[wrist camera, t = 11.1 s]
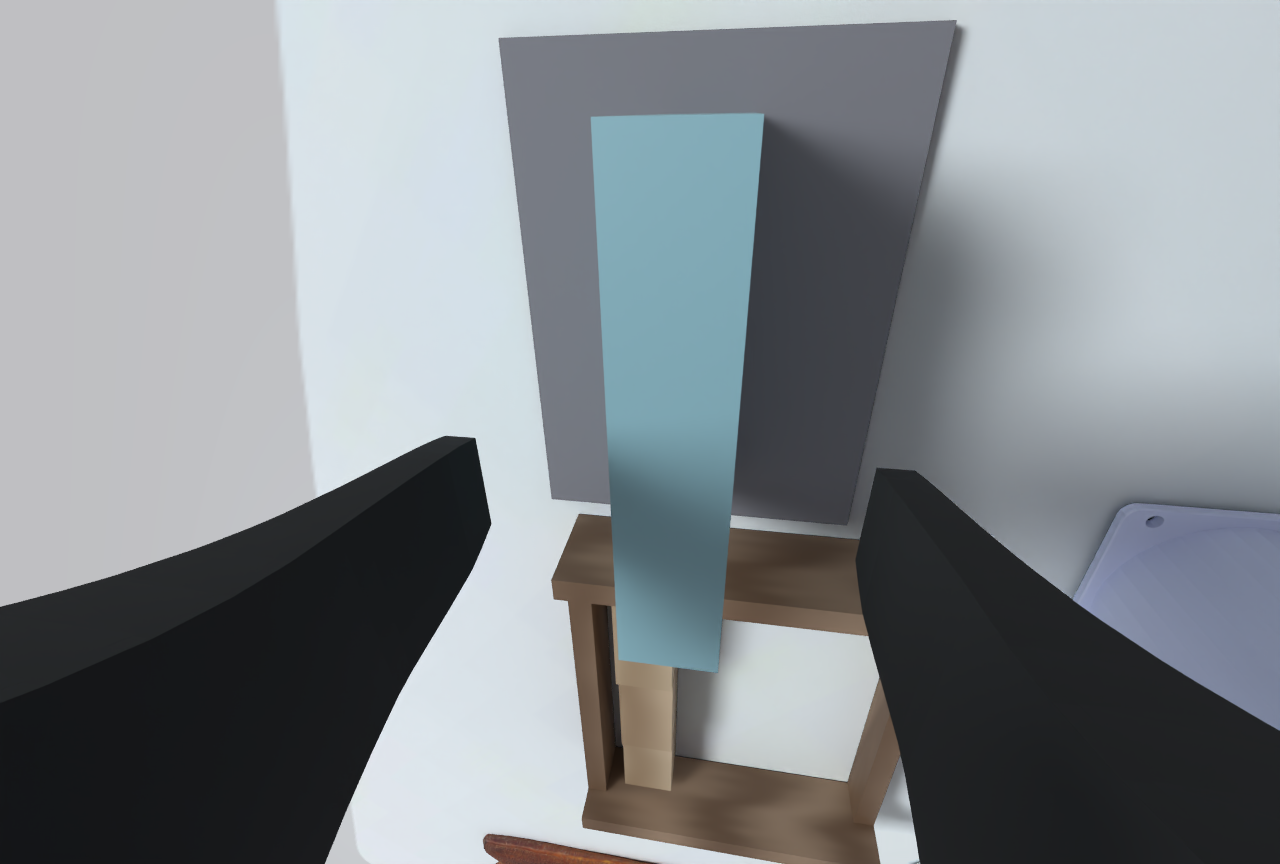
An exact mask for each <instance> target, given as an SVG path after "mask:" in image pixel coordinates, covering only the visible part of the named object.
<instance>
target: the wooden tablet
mask: <svg viewBox="0 0 1280 864" xmlns="http://www.w3.org/2000/svg"><path fill="white" fill-rule="evenodd" d="M483 844H484V849H485V851H486V852H487V853H488V854H489V855H491V856H492V857H494V858H495V859H496V860H498V861H499V862H497V863H496V864H653V863H647V862H641V861H636V860H631V859H627V858H622V857H617V856H612V855H607V854H601V853H595V852H590V851H586V850H582V849H576V848H571V847H566V846H561V845H557V844H552V843H546V842H541V841H536V840H531V839H525V838H518V837H512V836H504V835H494V834H487V835H486V836H485V837H484V839H483Z"/></svg>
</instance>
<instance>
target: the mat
mask: <svg viewBox="0 0 1280 864" xmlns="http://www.w3.org/2000/svg"><path fill="white" fill-rule="evenodd" d="M956 21H957V20H949V21H924V22H898V23H873V24H847V25H821V26H796V27H770V28H745V29H719V30H693V31H668V32H642V33H617V34H591V35H565V36H540V37H514V38H499V47H500V55H501V64H502V72H503V81H504V90H505V98H506V107H507V116H508V124H509V133H510V142H511V150H512V159H513V167H514V176H515V185H516V193H517V202H518V211H519V219H520V228H521V237H522V245H523V254H524V263H525V271H526V280H527V288H528V297H529V306H530V314H531V323H532V332H533V340H534V349H535V358H536V366H537V375H538V384H539V392H540V401H541V409H542V418H543V427H544V435H545V444H546V453H547V461H548V470H549V479H550V487H551V496H552V499H558V500H569V501H580V502H591V503H603V504H611V503H610V484H609V464H608V445H607V426H606V406H605V387H604V367H603V348H602V328H601V309H600V289H599V270H598V250H597V231H596V211H595V192H594V172H593V153H592V133H591V117H598V116H628V115H658V114H709V113H761V114H764V123H763V135H762V147H761V159H760V171H759V183H758V195H757V207H756V219H755V231H754V243H753V255H752V267H751V279H750V291H749V303H748V315H747V327H746V339H745V351H744V363H743V375H742V387H741V399H740V411H739V423H738V435H737V447H736V459H735V472H734V484H733V496H732V508H731V515H737V516H748V517H759V518H770V519H782V520H793V521H804V522H815V523H826V524H838V525H847V524H848V520H849V515H850V510H851V506H852V501H853V497H854V492H855V487H856V483H857V478H858V473H859V469H860V464H861V460H862V455H863V450H864V446H865V441H866V436H867V432H868V427H869V423H870V418H871V413H872V409H873V404H874V400H875V395H876V390H877V386H878V381H879V376H880V372H881V367H882V363H883V358H884V353H885V349H886V344H887V340H888V335H889V330H890V326H891V321H892V316H893V312H894V307H895V303H896V298H897V293H898V289H899V284H900V279H901V275H902V270H903V266H904V261H905V256H906V252H907V247H908V243H909V238H910V233H911V229H912V224H913V219H914V215H915V210H916V206H917V201H918V196H919V192H920V187H921V183H922V178H923V173H924V169H925V164H926V159H927V155H928V150H929V146H930V141H931V136H932V132H933V127H934V122H935V118H936V113H937V109H938V104H939V99H940V95H941V90H942V86H943V81H944V76H945V72H946V67H947V62H948V58H949V53H950V49H951V44H952V39H953V35H954V30H955V26H956Z"/></svg>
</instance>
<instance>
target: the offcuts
mask: <svg viewBox="0 0 1280 864" xmlns="http://www.w3.org/2000/svg"><path fill="white" fill-rule="evenodd" d="M612 624H613V641H614V659H615V677H616V684H619V701H620V719H621V738H622V745H623V750H624V769H625V784H631V785H637V786H643V787H649V788H655V789H661V790H667V791H671V786H672V777H673V768H674V759H675V748H676V713H677V711H676V708H677V678H678V668H676V667H669V666H661V665H654V664H646V663H638V662H631V661H623V660H619V659H618V640H617V620H616V607H615V606H612Z"/></svg>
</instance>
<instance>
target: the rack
mask: <svg viewBox="0 0 1280 864" xmlns="http://www.w3.org/2000/svg"><path fill="white" fill-rule="evenodd" d="M859 541H860V540H853V539H842V538H832V537H821V536H810V535H799V534H789V533H778V532H767V531H756V530H745V529H735V528H730V532H729V544H728V556H727V568H726V580H725V592H724V604H723V616H722V619H726V620H735V621H743V622H752V623H760V624H769V625H777V626H786V627H795V628H803V629H812V630H820V631H829V632H837V633H846V634H854V635H863V636H868V633H867V629H866V625H865V621H864V617H863V614H862V607H861V601H860V594H859V587H858V578H857V570H856V562H855V559H856V554H857V550H858V546H859ZM551 581H552V589H553V597H554V599H556V600H564V601H568V606H569V615H570V624H571V633H572V642H573V651H574V660H575V669H576V678H577V687H578V696H579V705H580V714H581V723H582V732H583V742H584V751H585V760H586V769H587V778H588V787H589V789H588V793H587V798H586V802H585V806H584V811H583V815H582V824H583V828H587V829H593V830H598V831H604V832H609V833H615V834H621V835H626V836H632V837H637V838H643V839H649V840H654V841H660V842H665V843H671V844H676V845H682V846H688V847H693V848H699V849H704V850H710V851H716V852H721V853H727V854H732V855H738V856H743V857H749V858H755V859H760V860H766V861H771V862H777V863H783V864H880V859H879V854H878V848H877V842H876V837H875V831H874V823H875V820H876V818H877V815H878V812H879V810H880V807H881V804H882V802H883V799H884V796H885V794H886V791H887V788H888V786H889V783H890V780H891V778H892V775H893V772H894V770H895V767H896V764H897V762H898V759H899V756H900V750H899V746H898V742H897V738H896V734H895V731H894V727H893V724H892V720H891V716H890V713H889V709H888V706H887V702H886V698H885V695H884V691H883V687H882V684H881V680H880V678H879V681H878V684H877V687H876V691H875V694H874V697H873V701H872V704H871V707H870V710H869V714H868V717H867V720H866V723H865V727H864V730H863V733H862V736H861V740H860V743H859V746H858V750H857V753H856V756H855V759H854V763H853V766H852V769H851V772H850V776H849V779H848V782H847V783H846V782H840V781H833V780H827V779H821V778H814V777H808V776H801V775H795V774H788V773H782V772H775V771H769V770H763V769H756V768H750V767H743V766H737V765H730V764H724V763H718V762H711V761H705V760H698V759H692V758H685V757H679V756H675V759H674V768H673V777H672V786H671V791H667V790H661V789H655V788H649V787H643V786H637V785H631V784H625V769H624V750H623V748H621V747H616V744H615V728H614V712H613V696H612V680H611V664H610V648H609V632H608V616H607V606H615V607H616V601H615V581H614V562H613V542H612V523H611V517H605V516H595V515H584V514H579V515H578V517H577V520H576V522H575V524H574V527H573V529H572V532H571V534H570V537H569V539H568V541H567V544H566V546H565V549H564V551H563V553H562V556H561V558H560V561H559V563H558V565H557V568H556V570H555V573H554V575H553V577H552V580H551Z"/></svg>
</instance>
